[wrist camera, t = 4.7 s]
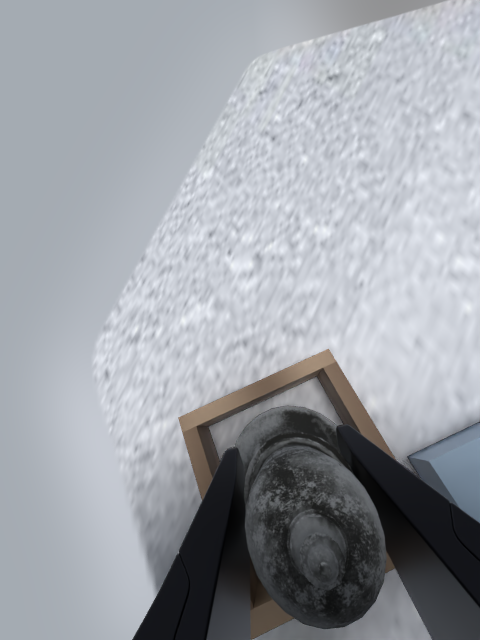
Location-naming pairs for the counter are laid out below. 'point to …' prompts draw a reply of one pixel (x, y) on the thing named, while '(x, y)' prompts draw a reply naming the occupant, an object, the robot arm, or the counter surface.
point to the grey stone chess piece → (309, 519)
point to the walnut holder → (196, 422)
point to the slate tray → (454, 468)
